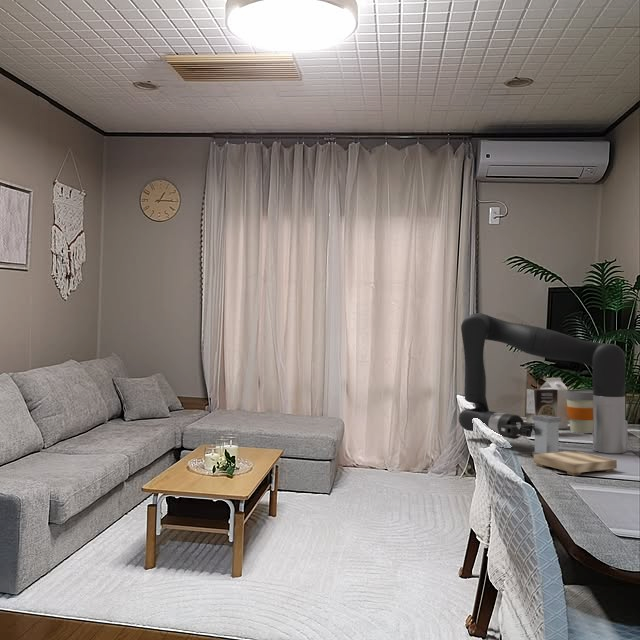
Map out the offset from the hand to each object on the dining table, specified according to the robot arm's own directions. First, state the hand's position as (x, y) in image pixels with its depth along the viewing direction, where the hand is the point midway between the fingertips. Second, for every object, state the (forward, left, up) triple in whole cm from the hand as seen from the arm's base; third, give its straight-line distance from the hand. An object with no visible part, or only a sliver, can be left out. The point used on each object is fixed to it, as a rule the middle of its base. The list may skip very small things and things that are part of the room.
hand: (541, 432), depth 204 cm
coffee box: (-30, -33, -7) cm, 45 cm away
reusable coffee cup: (-47, -30, -7) cm, 56 cm away
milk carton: (-44, -42, -7) cm, 61 cm away
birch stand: (+4, +17, -7) cm, 19 cm away
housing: (0, +2, -7) cm, 7 cm away
